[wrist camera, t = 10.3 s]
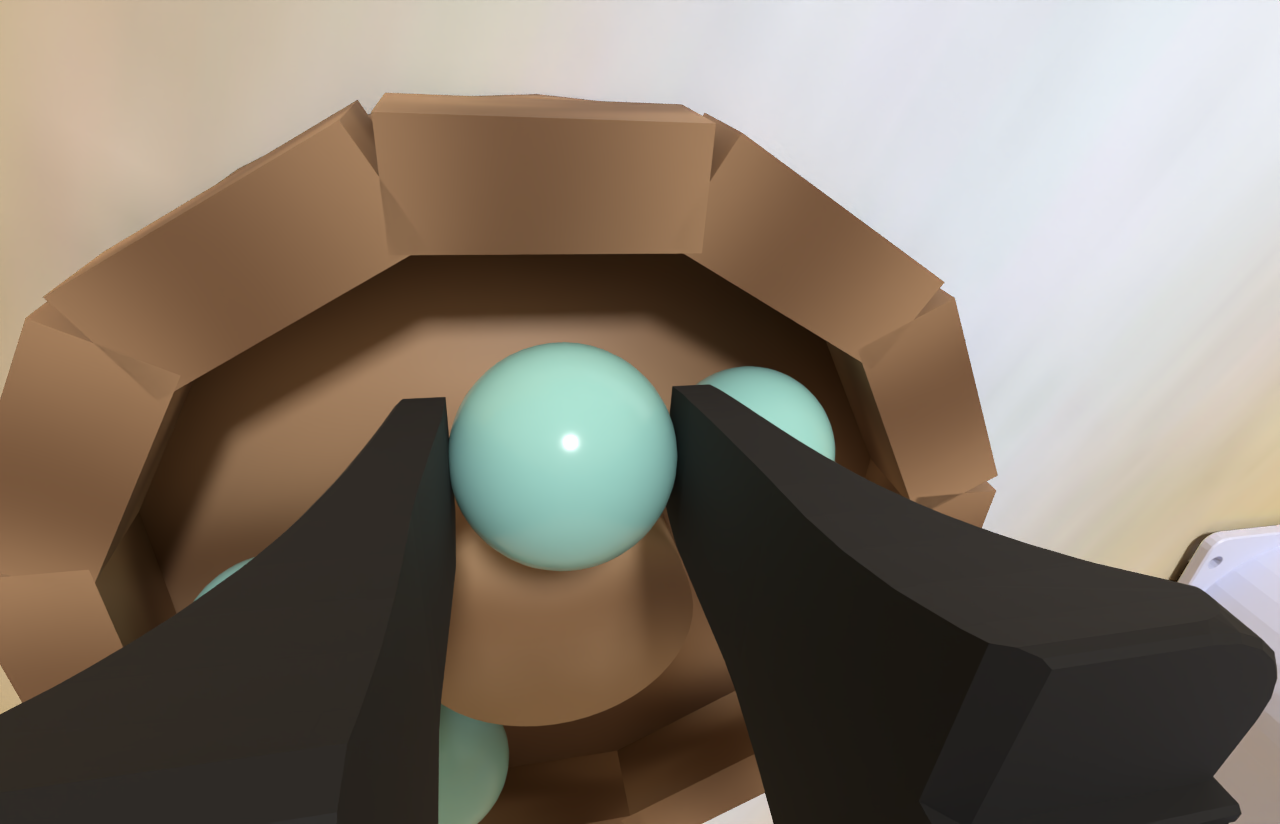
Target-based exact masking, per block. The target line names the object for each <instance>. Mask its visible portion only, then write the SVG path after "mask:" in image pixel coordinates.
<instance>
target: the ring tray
mask: <svg viewBox="0 0 1280 824" xmlns="http://www.w3.org/2000/svg"><path fill="white" fill-rule="evenodd" d="M943 283H944V282H943V281H942V280H941V279H939V278H938V277H937V276H935V275H934V274H933V273H931V272H930V271H929V270H927V269H926V268H924V267H923V266H922V265H920V264H919V263H918V262H916V261H915V260H914V259H912V258H911V257H910V256H908V255H907V254H906V253H904V252H903V251H901V250H900V249H899V248H897V247H896V246H895V245H893V244H892V243H891V242H889V241H888V240H887V239H885V238H884V237H882V236H881V235H880V234H878V233H877V232H876V231H874V230H873V229H872V228H870V227H869V226H868V225H866V224H865V223H864V222H862V221H861V220H859V219H858V218H857V217H855V216H854V215H853V214H851V213H850V212H849V211H847V210H846V209H845V208H843V207H842V206H840V205H839V204H838V203H836V202H835V201H834V200H832V199H831V198H830V197H828V196H827V195H826V194H824V193H823V192H822V191H820V190H819V189H817V188H816V187H815V186H813V185H812V184H811V183H809V182H808V181H807V180H805V179H804V178H803V177H801V176H800V175H798V174H797V173H796V172H794V171H793V170H792V169H790V168H789V167H788V166H786V165H785V164H784V163H782V162H781V161H780V160H778V159H777V158H775V157H774V156H773V155H771V154H770V153H769V152H767V151H766V150H765V149H763V148H762V147H761V146H759V145H758V144H756V143H755V142H754V141H752V140H751V139H750V138H748V137H747V136H746V135H744V134H743V133H741V132H740V131H738V130H736V129H734V128H732V127H730V126H728V125H727V124H725V123H723V122H721V121H719V120H717V119H715V118H714V117H712V116H710V115H708V114H706V113H704V115H703V116H702V115H700V114H698V113H696V112H694V111H693V110H691V109H689V108H687V107H685V106H684V105H681V104H655V103H630V102H605V101H593V100H584V99H575V98H566V97H557V96H548V95H539V94H529V95H496V96H452V95H426V94H401V93H385V94H384V95H383V96H382V98H381V99H380V101H379V102H378V103H377V105H376V106H375V107H374V109H373V110H372V112H371V114H367V113H366V111H365V110H364V109H363V107H362V106H361V104H360V103H359V101H358V100H357V101H355V102H353V103H352V104H350V105H348V106H347V107H345V108H343V109H342V110H340V111H338V112H337V113H335V114H333V115H332V116H330V117H328V118H327V119H325V120H323V121H322V122H320V123H318V124H317V125H315V126H313V127H312V128H310V129H308V130H307V131H305V132H303V133H302V134H300V135H298V136H297V137H295V138H293V139H292V140H290V141H288V142H286V143H285V144H283V145H281V146H280V147H278V148H276V149H275V150H273V151H271V152H270V153H268V154H266V155H265V156H263V157H261V158H259V159H257V160H255V161H253V162H251V163H249V164H247V165H245V166H243V167H241V168H239V169H237V170H236V171H235V172H233V173H232V174H230V175H229V176H228V177H226V178H225V179H223V180H222V181H221V182H219V183H218V184H216V185H215V186H213V187H211V188H210V189H208V190H206V191H205V192H203V193H201V194H200V195H198V196H196V197H195V198H193V199H191V200H190V201H188V202H186V203H185V204H183V205H181V206H180V207H178V208H176V209H175V210H173V211H171V212H170V213H168V214H166V215H165V216H163V217H161V218H159V219H158V220H156V221H154V222H153V223H151V224H149V225H148V226H146V227H144V228H143V229H141V230H139V231H138V232H136V233H134V234H133V235H131V236H129V237H128V238H126V239H124V240H123V241H121V242H119V243H118V244H116V245H114V246H113V247H111V248H109V249H108V250H106V251H104V252H103V253H102V254H100V255H99V256H97V257H96V258H95V259H93V260H92V261H91V262H89V263H88V264H87V265H85V266H84V267H83V268H81V269H80V270H79V271H77V272H76V273H75V274H73V275H72V276H71V277H69V278H68V279H67V280H65V281H64V282H62V283H61V284H60V285H58V286H57V287H56V288H54V289H53V290H52V291H50V292H49V293H48V294H46V295H45V296H44V297H43V298H45V299H46V300H47V302H46V303H45V304H43V305H42V306H41V307H40V308H38V309H37V310H36V311H34V312H33V313H32V314H30V315H29V316H28V317H26V319H25V322H24V325H23V328H22V331H21V335H20V338H19V341H18V344H17V348H16V351H15V354H14V357H13V360H12V364H11V367H10V370H9V373H8V376H7V380H6V383H5V386H4V389H3V393H2V396H1V399H0V665H1V666H2V668H3V670H4V672H5V673H6V675H7V677H8V679H9V680H10V682H11V684H12V686H13V687H14V689H15V691H16V692H17V694H18V696H19V698H20V699H21V701H22V703H23V702H25V701H27V700H29V699H31V698H33V697H35V696H37V695H39V694H41V693H43V692H45V691H47V690H49V689H50V688H52V687H54V686H56V685H58V684H60V683H62V682H63V681H65V680H67V679H69V678H71V677H72V676H74V675H76V674H78V673H80V672H81V671H83V670H85V669H87V668H89V667H90V666H92V665H94V664H95V663H97V662H99V661H100V660H102V659H104V658H106V657H107V656H109V655H111V654H112V653H114V652H116V651H117V650H119V649H121V648H123V647H124V646H126V645H128V644H129V643H131V642H133V641H134V640H136V639H137V638H139V637H141V636H142V635H144V634H145V633H147V632H149V631H150V630H152V629H153V628H155V627H157V626H158V625H160V624H161V623H163V622H165V621H166V620H168V619H169V618H171V617H172V616H174V615H175V614H177V613H178V612H180V611H181V610H183V609H184V608H186V607H187V606H188V605H190V604H191V603H193V601H194V600H195V599H196V597H197V596H198V595H199V594H200V592H201V591H202V590H203V589H204V588H205V587H206V586H207V585H208V584H209V583H210V582H211V581H212V580H213V579H215V578H216V577H217V576H218V575H219V574H221V573H222V572H224V571H225V570H227V569H229V568H230V567H232V566H234V565H236V564H238V563H240V562H242V561H244V560H247V559H250V558H253V557H256V556H257V555H258V554H259V553H260V552H262V551H263V550H264V549H265V548H266V547H268V546H269V545H270V544H271V543H272V542H274V541H275V540H276V539H277V538H278V537H280V536H281V535H282V534H283V533H284V532H285V531H286V530H287V529H288V528H289V527H291V526H292V525H293V524H294V523H295V522H296V521H297V520H298V519H299V518H300V517H301V516H302V515H303V514H304V513H305V512H306V511H307V510H308V509H309V508H310V507H311V506H312V505H313V504H314V503H315V502H316V501H317V500H318V499H319V498H320V497H321V495H322V494H323V493H324V492H325V491H326V490H327V489H328V488H329V487H330V486H331V485H332V484H333V483H334V482H335V481H336V480H337V479H338V478H339V476H340V475H341V474H342V473H343V472H344V471H345V469H346V468H347V467H348V466H349V465H350V463H351V462H352V461H353V460H354V459H355V458H356V456H357V455H358V454H359V453H360V452H361V450H362V449H363V448H364V447H365V446H366V444H367V443H368V442H369V440H370V439H371V438H372V437H373V435H374V434H375V433H376V431H377V430H378V429H379V427H380V426H381V425H382V423H383V422H384V421H385V419H386V418H387V416H388V415H389V414H390V412H391V411H392V409H393V408H394V407H395V406H396V405H397V404H398V403H399V402H400V401H401V400H402V399H411V398H432V397H446V407H447V418H448V430H449V437H450V432H451V427H452V424H453V421H454V418H455V416H456V413H457V411H458V409H459V406H460V405H461V403H462V401H463V399H464V397H465V395H466V394H467V393H468V391H469V390H470V389H471V387H472V386H473V385H474V384H475V382H476V381H477V380H478V379H479V378H480V377H481V376H482V375H483V374H484V373H485V372H486V371H487V370H488V369H490V368H491V367H492V366H494V365H495V364H496V363H497V362H499V361H501V360H502V359H504V358H506V357H507V356H509V355H511V354H513V353H516V352H518V351H520V350H523V349H526V348H529V347H533V346H536V345H541V344H547V343H558V342H570V343H580V344H586V345H591V346H594V347H597V348H601V349H604V350H606V351H608V352H610V353H612V354H614V355H616V356H619V357H621V358H622V359H624V360H625V361H627V362H628V363H630V364H631V365H633V366H634V367H635V368H636V369H637V370H638V371H639V372H641V373H642V374H643V375H644V376H645V377H646V378H647V379H648V380H649V382H650V383H651V384H652V385H653V386H654V387H655V389H656V391H657V392H658V394H659V395H660V397H661V399H662V400H663V402H664V403H665V405H666V408H667V410H668V412H669V415H670V405H671V395H672V386H685V385H696V384H697V383H699V382H700V381H701V380H703V379H705V378H706V377H708V376H710V375H712V374H714V373H717V372H719V371H722V370H726V369H730V368H735V367H742V366H755V367H763V368H769V369H772V370H776V371H779V372H781V373H783V374H786V375H788V376H790V377H792V378H793V379H795V380H796V381H798V382H799V383H801V384H802V385H804V386H805V387H806V388H807V389H808V390H809V391H810V392H811V393H812V394H813V395H814V396H815V397H816V399H817V400H818V401H819V403H820V404H821V406H822V407H823V409H824V410H825V412H826V414H827V417H828V419H829V421H830V423H831V427H832V431H833V435H834V440H835V462H836V463H838V464H840V465H841V466H843V467H845V468H847V469H849V470H850V471H852V472H854V473H856V474H858V475H860V476H862V477H864V478H865V479H867V480H869V481H871V482H873V483H875V484H877V485H879V486H882V487H884V488H886V489H888V490H890V491H892V492H895V493H897V494H899V495H901V496H903V497H905V498H907V499H910V500H912V501H914V502H916V503H918V504H921V505H923V506H925V507H928V508H930V509H933V510H935V511H938V512H940V513H942V514H945V515H948V516H950V517H953V518H956V519H958V520H961V521H964V522H966V523H969V524H972V525H974V526H977V527H980V528H982V526H983V523H984V520H985V518H986V515H987V513H988V510H989V508H990V505H991V503H992V500H993V497H994V495H995V492H996V490H995V489H994V488H993V487H992V486H991V485H990V484H989V483H988V482H987V481H988V480H990V479H992V478H994V477H996V476H998V475H997V471H996V467H995V463H994V459H993V455H992V450H991V446H990V442H989V438H988V434H987V430H986V426H985V421H984V417H983V413H982V409H981V405H980V401H979V397H978V392H977V388H976V384H975V380H974V376H973V372H972V368H971V363H970V359H969V355H968V351H967V347H966V343H965V339H964V335H963V330H962V326H961V322H960V318H959V314H958V310H957V306H956V301H955V298H954V297H952V296H951V295H949V294H948V293H946V292H945V291H943V290H941V289H940V287H941V286H942V285H943ZM454 498H455V497H454ZM455 513H456V571H455V581H454V590H453V599H452V609H451V618H450V626H449V635H448V644H447V653H446V662H445V671H444V680H443V689H442V698H441V704H442V705H444V706H446V707H448V708H449V709H451V710H453V711H455V712H457V713H459V714H462V715H464V716H467V717H469V718H472V719H476V720H480V721H483V722H487V723H493V724H499V725H503V727H504V729H505V732H506V735H507V740H508V746H509V766H508V772H507V777H506V780H505V783H504V787H503V789H502V791H501V793H500V795H499V797H498V799H497V801H496V803H495V804H494V806H493V807H492V809H491V810H490V811H489V813H488V814H487V815H486V816H485V817H484V818H483V819H482V820H481V821H480V822H479V823H478V824H702V823H704V822H706V821H708V820H710V819H712V818H714V817H716V816H718V815H720V814H722V813H724V812H726V811H729V810H731V809H733V808H735V807H737V806H739V805H741V804H743V803H745V802H747V801H749V800H751V799H753V798H755V797H757V796H759V795H761V794H763V793H765V791H764V787H763V783H762V780H761V776H760V773H759V769H758V765H757V762H756V758H755V755H754V751H753V748H752V744H751V741H750V738H749V734H748V731H747V728H746V724H745V721H744V718H743V714H742V711H741V708H740V704H739V701H738V698H737V694H736V691H735V688H734V685H733V683H732V680H731V677H730V674H729V672H728V669H727V666H726V664H725V661H724V659H723V656H722V654H721V651H720V649H719V647H718V644H717V642H716V640H715V637H714V635H713V633H712V630H711V628H710V625H709V623H708V621H707V618H706V616H705V614H704V611H703V609H702V607H701V604H700V602H699V599H698V597H697V595H696V592H695V590H694V588H693V585H692V583H691V581H690V578H689V576H688V573H687V571H686V568H685V566H684V564H683V561H682V559H681V556H680V554H679V551H678V549H677V546H676V543H675V540H674V536H673V533H672V529H671V525H670V522H669V518H668V514H667V510H666V507H665V509H664V510H663V512H662V514H661V516H660V517H659V519H658V520H657V521H656V523H655V524H654V526H653V527H652V528H651V530H650V531H649V532H648V533H647V534H646V535H645V536H644V537H643V539H641V540H640V541H639V542H638V543H637V544H636V545H634V546H633V547H632V548H630V549H629V550H627V551H626V552H625V553H623V554H622V555H620V556H618V557H616V558H614V559H613V560H610V561H608V562H606V563H603V564H601V565H598V566H595V567H591V568H587V569H582V570H575V571H550V570H542V569H537V568H532V567H529V566H526V565H522V564H520V563H518V562H515V561H513V560H511V559H509V558H507V557H506V556H504V555H502V554H500V553H499V552H497V551H496V550H494V549H493V548H492V547H491V546H489V545H488V544H487V543H486V542H485V541H484V540H483V539H482V538H481V537H480V536H479V535H478V534H477V533H476V532H475V531H474V530H473V529H472V527H471V526H470V525H469V523H468V522H467V520H466V519H465V517H464V516H463V514H462V512H461V510H460V508H459V506H458V504H457V502H456V500H455Z"/></svg>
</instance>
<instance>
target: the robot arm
mask: <svg viewBox="0 0 1280 824" xmlns="http://www.w3.org/2000/svg"><path fill="white" fill-rule="evenodd" d="M670 417H671V420H672V423H673V427H674V431H675V435H676V444H677V469H676V477H675V481H674V485H673V489H672V492H671V494H670V497H669V499H668V502H667V505H666V510H667V514H668V518H669V522H670V525H671V529H672V533H673V536H674V540H675V543H676V546H677V549H678V551H679V554H680V556H681V559H682V561H683V564H684V566H685V568H686V571H687V573H688V576H689V578H690V581H691V583H692V585H693V588H694V590H695V592H696V595H697V597H698V599H699V602H700V604H701V607H702V609H703V611H704V614H705V616H706V618H707V621H708V623H709V625H710V628H711V630H712V633H713V635H714V637H715V640H716V642H717V644H718V647H719V649H720V651H721V654H722V656H723V659H724V661H725V664H726V666H727V669H728V672H729V674H730V677H731V680H732V683H733V685H734V688H735V691H736V694H737V698H738V701H739V704H740V708H741V711H742V714H743V718H744V721H745V724H746V728H747V731H748V734H749V738H750V741H751V744H752V748H753V751H754V755H755V758H756V762H757V765H758V769H759V773H760V776H761V780H762V783H763V787H764V791H765V794H766V798H767V801H768V805H769V808H770V812H771V816H772V819H773V823H774V824H1280V525H1275V526H1266V527H1256V528H1247V529H1238V530H1229V531H1220V532H1215V533H1212V534H1210V535H1209V536H1207V537H1206V538H1205V539H1203V541H1202V542H1201V543H1200V545H1199V546H1198V548H1197V550H1196V551H1195V553H1194V555H1193V556H1192V558H1191V560H1190V561H1189V563H1188V565H1187V566H1186V568H1185V570H1184V571H1183V573H1182V575H1181V577H1180V578H1179V580H1178V582H1174V581H1170V580H1165V579H1161V578H1157V577H1152V576H1148V575H1144V574H1139V573H1135V572H1131V571H1126V570H1122V569H1118V568H1113V567H1109V566H1105V565H1100V564H1096V563H1092V562H1089V561H1085V560H1081V559H1078V558H1074V557H1071V556H1067V555H1064V554H1061V553H1057V552H1054V551H1050V550H1047V549H1043V548H1040V547H1037V546H1033V545H1030V544H1027V543H1024V542H1021V541H1018V540H1014V539H1011V538H1008V537H1005V536H1002V535H999V534H996V533H993V532H990V531H988V530H985V529H982V528H980V527H977V526H974V525H972V524H969V523H966V522H964V521H961V520H958V519H956V518H953V517H950V516H948V515H945V514H942V513H940V512H938V511H935V510H933V509H930V508H928V507H925V506H923V505H921V504H918V503H916V502H914V501H912V500H910V499H907V498H905V497H903V496H901V495H899V494H897V493H895V492H892V491H890V490H888V489H886V488H884V487H882V486H879V485H877V484H875V483H873V482H871V481H869V480H867V479H865V478H864V477H862V476H860V475H858V474H856V473H854V472H852V471H850V470H849V469H847V468H845V467H843V466H841V465H840V464H838V463H836V462H834V461H833V460H831V459H829V458H827V457H825V456H824V455H822V454H820V453H819V452H817V451H815V450H814V449H812V448H810V447H809V446H807V445H805V444H804V443H802V442H800V441H799V440H797V439H796V438H794V437H792V436H791V435H789V434H788V433H786V432H785V431H783V430H781V429H780V428H778V427H777V426H775V425H774V424H772V423H771V422H769V421H768V420H766V419H765V418H763V417H762V416H760V415H759V414H757V413H755V412H754V411H752V410H751V409H749V408H748V407H746V406H745V405H743V404H742V403H740V402H739V401H737V400H736V399H734V398H733V397H731V396H729V395H728V394H726V393H725V392H723V391H721V390H720V389H718V388H716V387H714V386H712V385H710V384H706V385H685V386H672V395H671V405H670ZM455 571H456V513H455V498H454V494H453V490H452V487H451V482H450V471H449V430H448V418H447V407H446V397H432V398H411V399H402V400H401V401H400V402H399V403H398V404H397V405H396V406H395V407H394V408H393V409H392V411H391V412H390V414H389V415H388V416H387V418H386V419H385V421H384V422H383V423H382V425H381V426H380V427H379V429H378V430H377V431H376V433H375V434H374V435H373V437H372V438H371V439H370V440H369V442H368V443H367V444H366V446H365V447H364V448H363V449H362V450H361V452H360V453H359V454H358V455H357V456H356V458H355V459H354V460H353V461H352V462H351V463H350V465H349V466H348V467H347V468H346V469H345V471H344V472H343V473H342V474H341V475H340V476H339V478H338V479H337V480H336V481H335V482H334V483H333V484H332V485H331V486H330V487H329V488H328V489H327V490H326V491H325V492H324V493H323V494H322V495H321V497H320V498H319V499H318V500H317V501H316V502H315V503H314V504H313V505H312V506H311V507H310V508H309V509H308V510H307V511H306V512H305V513H304V514H303V515H302V516H301V517H300V518H299V519H298V520H297V521H296V522H295V523H294V524H293V525H292V526H291V527H289V528H288V529H287V530H286V531H285V532H284V533H283V534H282V535H281V536H280V537H278V538H277V539H276V540H275V541H274V542H272V543H271V544H270V545H269V546H268V547H266V548H265V549H264V550H263V551H262V552H260V553H259V554H258V555H257V556H256V557H254V558H253V559H252V560H251V561H249V562H248V563H247V564H245V565H244V566H243V567H242V568H240V569H239V570H237V571H236V572H235V573H233V574H232V575H230V576H229V577H228V578H226V579H225V580H223V581H222V582H221V583H219V584H218V585H216V586H215V587H214V588H212V589H211V590H209V591H208V592H207V593H205V594H204V595H202V596H201V597H200V598H198V599H197V600H195V601H194V602H193V603H191V604H190V605H188V606H187V607H186V608H184V609H183V610H181V611H180V612H178V613H177V614H175V615H174V616H172V617H171V618H169V619H168V620H166V621H165V622H163V623H161V624H160V625H158V626H157V627H155V628H153V629H152V630H150V631H149V632H147V633H145V634H144V635H142V636H141V637H139V638H137V639H136V640H134V641H133V642H131V643H129V644H128V645H126V646H124V647H123V648H121V649H119V650H117V651H116V652H114V653H112V654H111V655H109V656H107V657H106V658H104V659H102V660H100V661H99V662H97V663H95V664H94V665H92V666H90V667H89V668H87V669H85V670H83V671H81V672H80V673H78V674H76V675H74V676H72V677H71V678H69V679H67V680H65V681H63V682H62V683H60V684H58V685H56V686H54V687H52V688H50V689H49V690H47V691H45V692H43V693H41V694H39V695H37V696H35V697H33V698H31V699H29V700H27V701H25V702H23V703H21V704H19V705H18V706H16V707H14V708H12V709H10V710H8V711H6V712H4V713H2V714H0V824H438V801H439V727H440V712H441V698H442V689H443V680H444V671H445V662H446V653H447V644H448V635H449V626H450V618H451V609H452V599H453V590H454V581H455Z"/></svg>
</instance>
